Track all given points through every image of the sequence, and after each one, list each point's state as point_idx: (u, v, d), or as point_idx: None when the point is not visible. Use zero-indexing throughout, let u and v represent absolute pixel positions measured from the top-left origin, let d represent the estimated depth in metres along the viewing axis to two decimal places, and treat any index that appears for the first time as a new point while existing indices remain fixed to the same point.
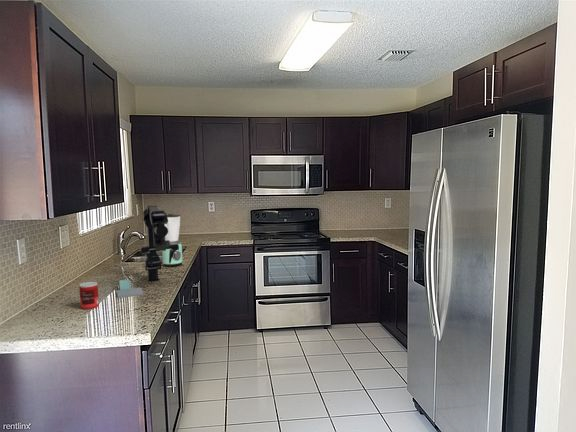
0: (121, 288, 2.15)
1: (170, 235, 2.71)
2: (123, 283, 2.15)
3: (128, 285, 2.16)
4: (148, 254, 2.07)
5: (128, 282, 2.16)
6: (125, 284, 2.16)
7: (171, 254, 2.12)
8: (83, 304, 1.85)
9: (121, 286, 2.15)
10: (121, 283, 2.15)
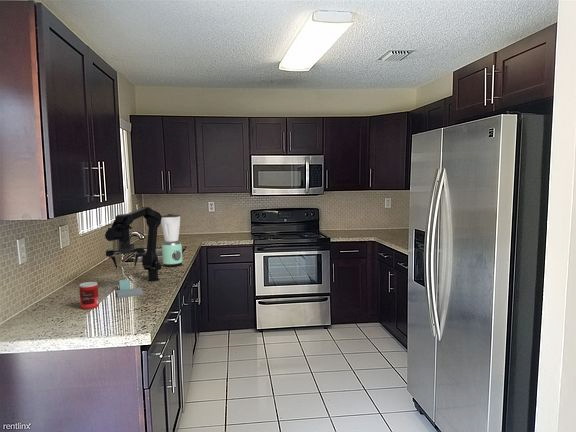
0: (121, 288, 2.15)
1: (170, 235, 2.71)
2: (123, 283, 2.15)
3: (128, 285, 2.16)
4: (113, 257, 2.12)
5: (128, 282, 2.16)
6: (125, 284, 2.16)
7: (136, 257, 2.17)
8: (83, 304, 1.85)
9: (121, 286, 2.15)
10: (121, 283, 2.15)
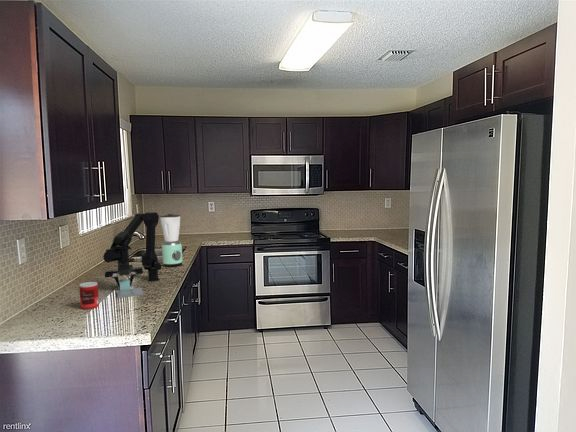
0: (121, 288, 2.15)
1: (170, 235, 2.71)
2: (123, 283, 2.15)
3: (128, 285, 2.16)
4: (116, 278, 2.14)
5: (128, 282, 2.16)
6: (125, 284, 2.16)
7: (131, 278, 2.18)
8: (83, 304, 1.85)
9: (121, 286, 2.15)
10: (121, 283, 2.15)
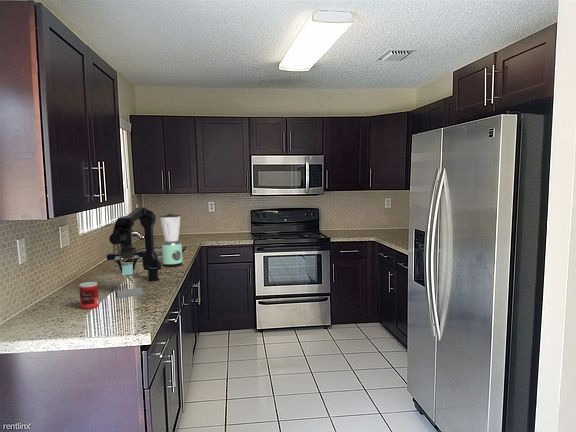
0: (123, 272, 2.06)
1: (170, 235, 2.71)
2: (126, 266, 2.06)
3: (131, 269, 2.07)
4: (118, 261, 2.05)
5: (131, 266, 2.07)
6: (128, 268, 2.07)
7: (134, 262, 2.09)
8: (83, 304, 1.85)
9: (123, 270, 2.06)
10: (123, 266, 2.06)
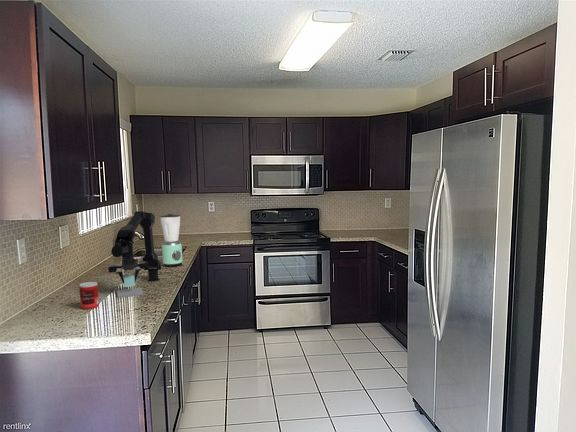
0: (125, 283, 2.06)
1: (170, 235, 2.71)
2: (127, 278, 2.06)
3: (133, 280, 2.08)
4: (120, 273, 2.05)
5: (133, 277, 2.07)
6: (129, 279, 2.07)
7: (136, 273, 2.09)
8: (83, 304, 1.85)
9: (125, 281, 2.06)
10: (125, 278, 2.06)
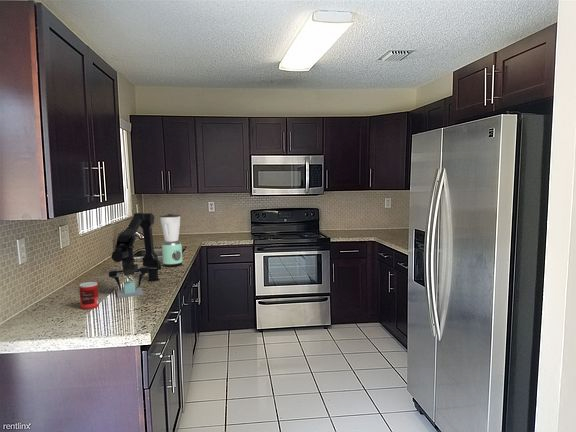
0: (126, 290, 2.06)
1: (170, 235, 2.71)
2: (128, 285, 2.07)
3: (133, 287, 2.08)
4: (116, 278, 2.04)
5: (133, 284, 2.08)
6: (130, 286, 2.07)
7: (140, 277, 2.10)
8: (83, 304, 1.85)
9: (126, 288, 2.06)
10: (126, 285, 2.06)
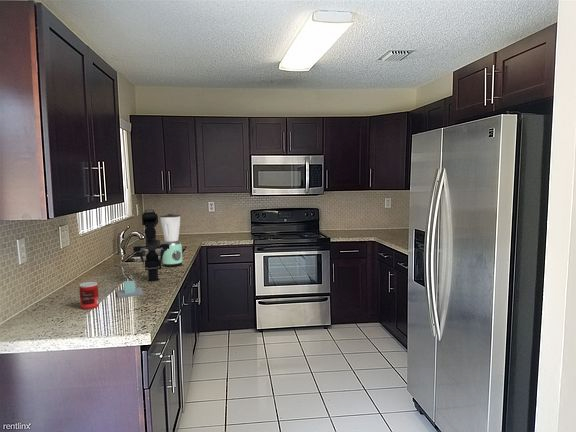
0: (126, 290, 2.06)
1: (170, 235, 2.71)
2: (128, 285, 2.07)
3: (133, 287, 2.08)
4: (140, 253, 2.20)
5: (133, 284, 2.08)
6: (130, 286, 2.07)
7: (162, 253, 2.25)
8: (83, 304, 1.85)
9: (126, 288, 2.06)
10: (126, 285, 2.06)
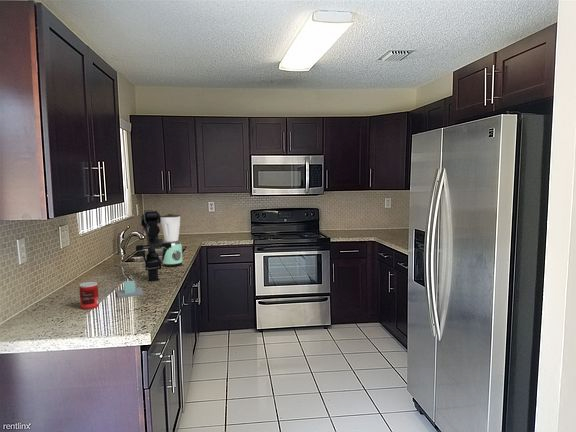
0: (126, 290, 2.06)
1: (170, 235, 2.71)
2: (128, 285, 2.07)
3: (133, 287, 2.08)
4: (142, 252, 2.21)
5: (133, 284, 2.08)
6: (130, 286, 2.07)
7: (164, 252, 2.26)
8: (83, 304, 1.85)
9: (126, 288, 2.06)
10: (126, 285, 2.06)
